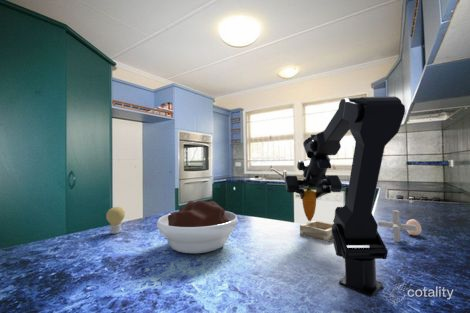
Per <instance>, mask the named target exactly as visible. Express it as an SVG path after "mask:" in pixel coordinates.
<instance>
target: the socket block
mask: <svg viewBox="0 0 470 313" xmlns="http://www.w3.org/2000/svg"><path fill="white" fill-rule="evenodd" d="M333 224H334V223H329V222H324V221H320V220H311V221H308V222H306V223H302V224H300V225H299V235H300V236H303V237H307V238H311V239H315V240H318V241H321V242H325V243H329V242H330V241H333V236H332V225H333Z"/></svg>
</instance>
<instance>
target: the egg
mask: <svg viewBox="0 0 470 313" xmlns="http://www.w3.org/2000/svg"><path fill="white" fill-rule="evenodd" d="M405 224H410V225H416V231H412V230H406V231H407V232H408V234H410V235H411V236H418V235H419V234H421V233H422V225H421V224H420V222H419V221H418V220H416V219H414V218H412V219H409V220H407V221H406V223H405Z"/></svg>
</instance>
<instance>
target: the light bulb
mask: <svg viewBox="0 0 470 313" xmlns="http://www.w3.org/2000/svg"><path fill="white" fill-rule="evenodd" d="M125 212H126V211H125V210H124V209H123V208H122V207H119V206H115V207H112V208H110V209H108V210H107V212H106V214H105V215H106V216H105V218H106V220H107V222H108V223H109V224H110V225H109V233H110V234H113V235H114V234H115V235H116V234H119V233H121V229H122V224H121V223H122V221H123V220H124V218H125V216H126V215H125Z"/></svg>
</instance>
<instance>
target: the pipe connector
mask: <svg viewBox="0 0 470 313" xmlns="http://www.w3.org/2000/svg"><path fill="white" fill-rule="evenodd" d="M377 224H378V227H384V228H390V229H392V233H393V241H394V242H397V243H400V242H401V230H405V231H407V230H412V231H416V225H410V224H406V223H401V221H400V211H399V210H394V209H392V222H391V221H384V220H383V221H382V220H378V223H377Z"/></svg>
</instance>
